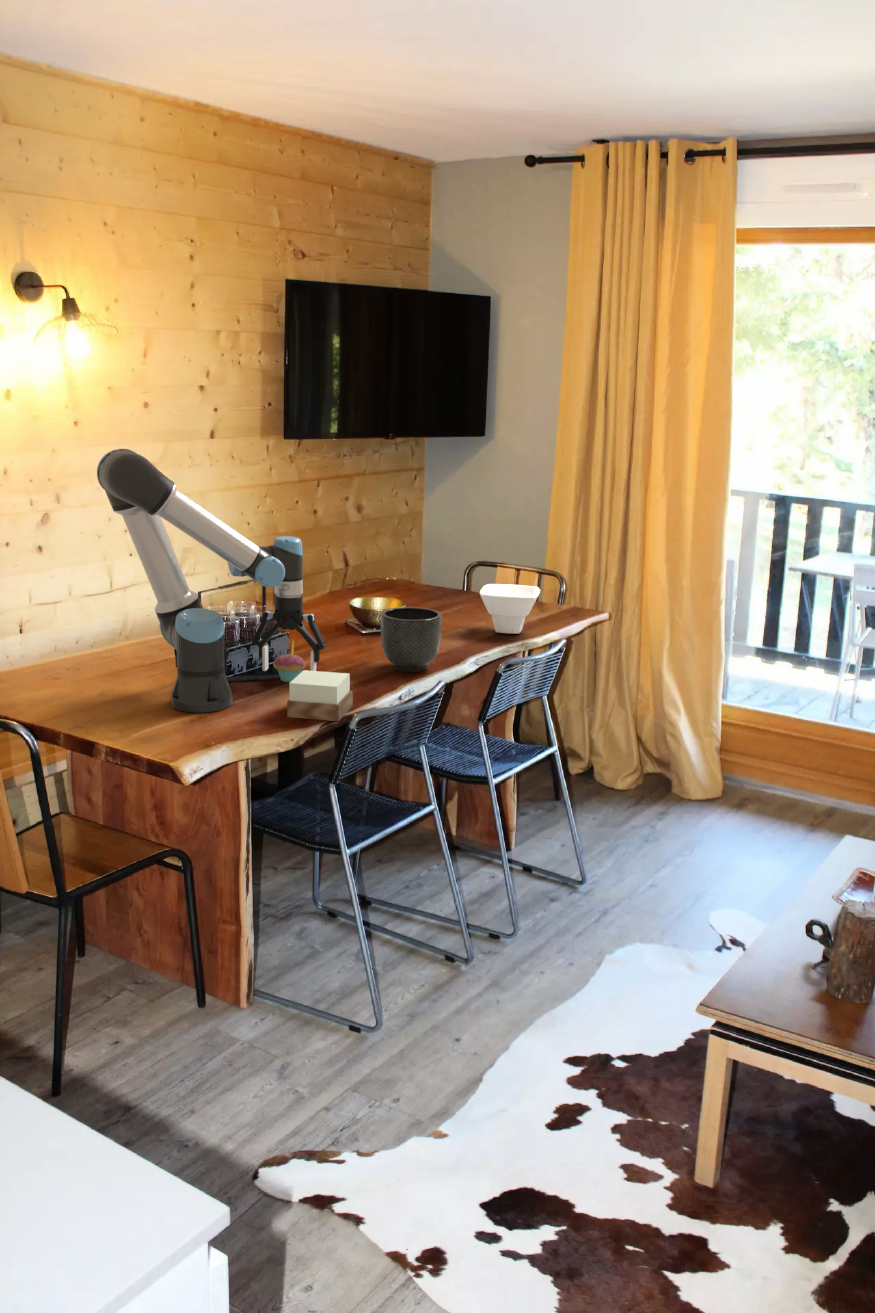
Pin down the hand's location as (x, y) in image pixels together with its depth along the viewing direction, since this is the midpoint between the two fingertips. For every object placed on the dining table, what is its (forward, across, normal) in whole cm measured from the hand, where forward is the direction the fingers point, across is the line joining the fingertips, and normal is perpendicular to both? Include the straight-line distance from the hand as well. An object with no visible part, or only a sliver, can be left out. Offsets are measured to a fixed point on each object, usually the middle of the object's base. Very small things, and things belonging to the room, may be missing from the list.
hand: (289, 671), depth 314 cm
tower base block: (+3, +16, -24) cm, 29 cm away
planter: (+3, +29, +21) cm, 36 cm away
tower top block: (-2, +16, -24) cm, 29 cm away
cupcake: (+2, 0, 0) cm, 2 cm away
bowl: (+3, +50, +72) cm, 88 cm away
